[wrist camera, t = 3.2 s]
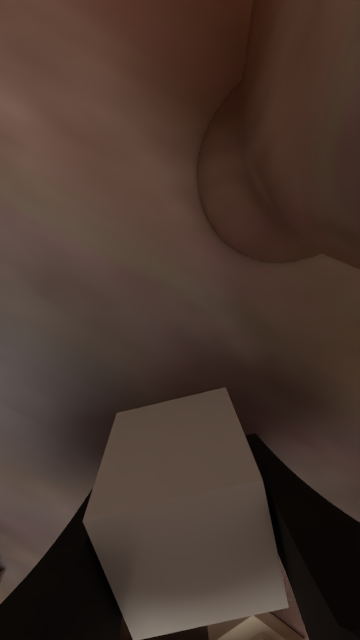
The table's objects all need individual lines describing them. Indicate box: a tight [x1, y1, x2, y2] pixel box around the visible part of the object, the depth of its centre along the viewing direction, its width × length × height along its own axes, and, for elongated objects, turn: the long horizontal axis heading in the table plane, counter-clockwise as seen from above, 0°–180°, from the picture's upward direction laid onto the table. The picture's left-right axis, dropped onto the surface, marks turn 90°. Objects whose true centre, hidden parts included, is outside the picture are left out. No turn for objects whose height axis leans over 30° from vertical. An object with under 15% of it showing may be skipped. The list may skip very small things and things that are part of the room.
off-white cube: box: [83, 387, 289, 640], centre depth 10 cm, size 5×5×5 cm
